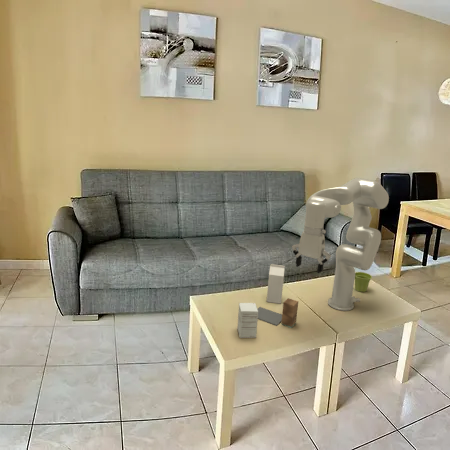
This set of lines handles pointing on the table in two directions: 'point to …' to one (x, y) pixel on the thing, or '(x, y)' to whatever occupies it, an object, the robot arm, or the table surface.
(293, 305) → the walnut block
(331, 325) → the table surface
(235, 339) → the table surface
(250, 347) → the table surface
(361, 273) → the plant pot
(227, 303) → the table surface
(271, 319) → the mat
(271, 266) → the milk carton
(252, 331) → the supplement box
